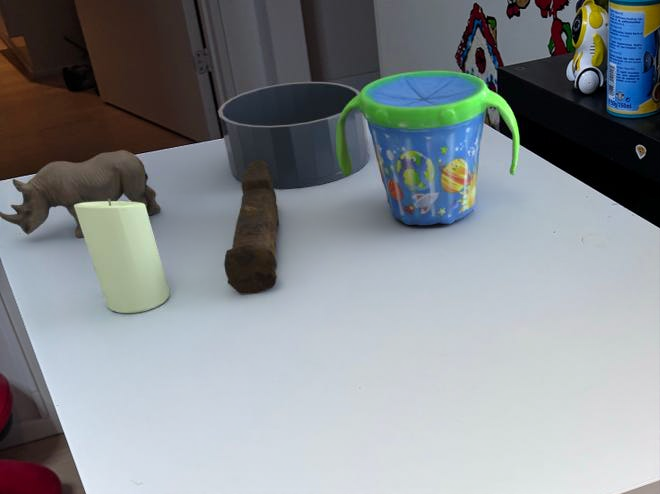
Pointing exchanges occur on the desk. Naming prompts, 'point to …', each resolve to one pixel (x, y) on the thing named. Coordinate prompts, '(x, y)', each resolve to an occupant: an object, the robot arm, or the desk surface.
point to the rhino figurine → (81, 188)
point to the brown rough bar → (254, 234)
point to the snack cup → (427, 141)
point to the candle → (123, 254)
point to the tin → (293, 132)
